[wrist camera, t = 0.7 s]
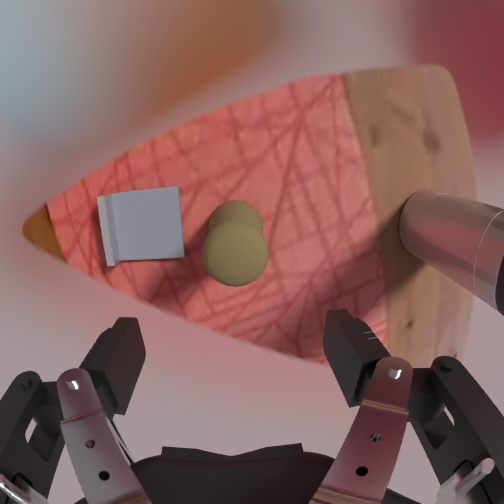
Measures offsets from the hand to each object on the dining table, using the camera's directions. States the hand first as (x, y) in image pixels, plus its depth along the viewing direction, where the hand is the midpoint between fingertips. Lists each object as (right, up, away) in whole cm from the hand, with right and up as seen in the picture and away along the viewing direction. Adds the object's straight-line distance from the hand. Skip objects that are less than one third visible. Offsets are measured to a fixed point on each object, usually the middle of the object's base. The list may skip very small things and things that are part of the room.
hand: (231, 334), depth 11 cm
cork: (-1, +6, +20) cm, 21 cm away
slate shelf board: (-11, +7, +19) cm, 23 cm away
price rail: (-15, +6, +18) cm, 25 cm away
